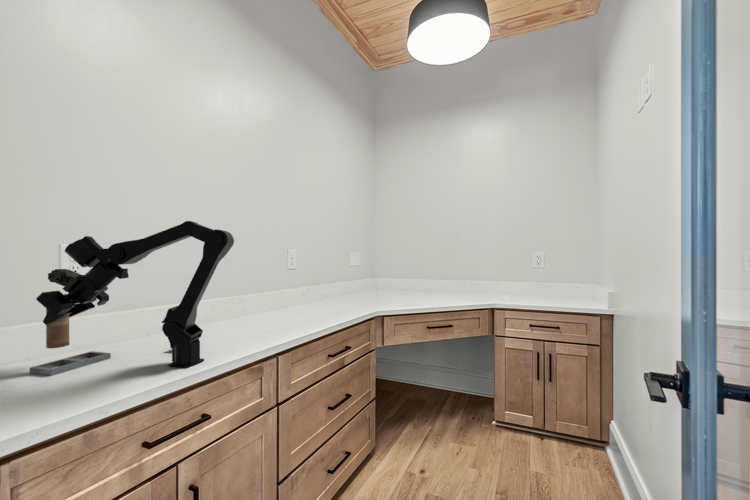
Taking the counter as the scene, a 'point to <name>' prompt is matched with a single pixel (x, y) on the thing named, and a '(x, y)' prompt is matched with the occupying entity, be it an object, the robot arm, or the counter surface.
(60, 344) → the post
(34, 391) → the counter surface
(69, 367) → the grey divided tray
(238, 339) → the counter surface
